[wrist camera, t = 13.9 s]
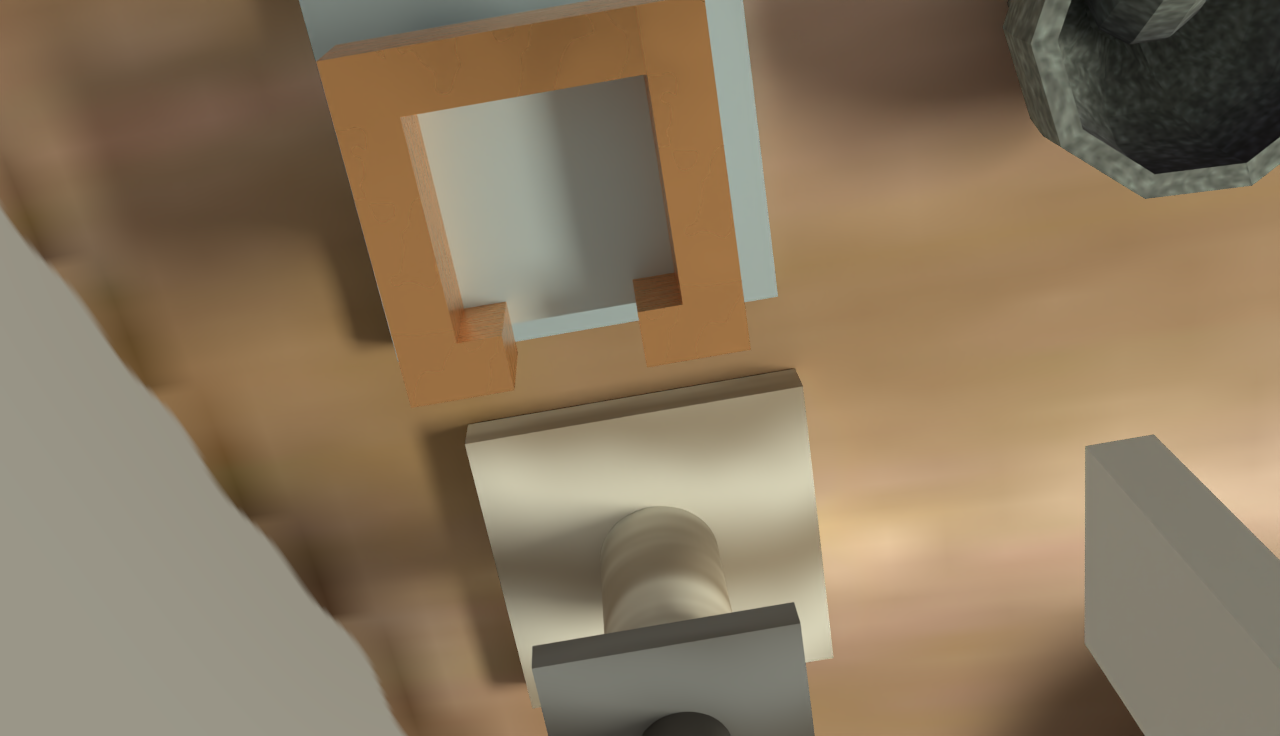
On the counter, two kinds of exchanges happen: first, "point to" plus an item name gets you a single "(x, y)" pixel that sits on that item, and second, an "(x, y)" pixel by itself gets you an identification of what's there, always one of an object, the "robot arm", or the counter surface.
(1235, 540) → the robot arm
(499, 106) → the block
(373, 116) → the link
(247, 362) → the counter surface
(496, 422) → the post stand
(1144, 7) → the mortar and pestle
